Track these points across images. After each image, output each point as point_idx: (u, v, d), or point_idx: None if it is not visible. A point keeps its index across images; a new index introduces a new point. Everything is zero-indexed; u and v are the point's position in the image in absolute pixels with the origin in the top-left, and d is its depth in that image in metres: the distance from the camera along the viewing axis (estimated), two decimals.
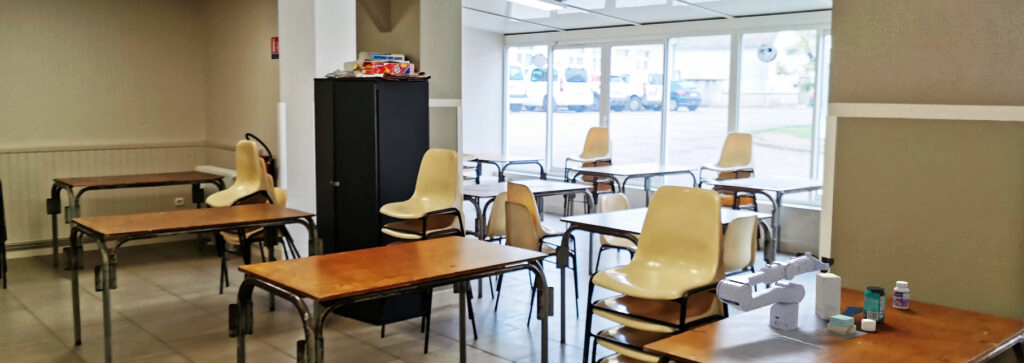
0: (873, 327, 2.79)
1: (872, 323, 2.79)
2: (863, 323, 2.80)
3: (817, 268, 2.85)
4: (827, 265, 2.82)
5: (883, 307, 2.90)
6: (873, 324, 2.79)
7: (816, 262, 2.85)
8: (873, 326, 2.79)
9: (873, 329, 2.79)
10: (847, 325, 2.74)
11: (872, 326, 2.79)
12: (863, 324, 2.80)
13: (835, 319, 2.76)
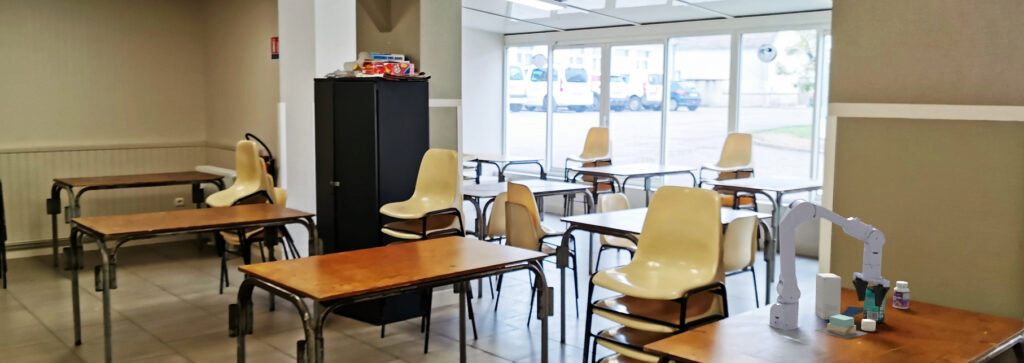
0: (873, 327, 2.79)
1: (872, 323, 2.79)
2: (863, 323, 2.80)
3: None
4: (888, 283, 2.73)
5: (883, 307, 2.90)
6: (873, 324, 2.79)
7: None
8: (873, 326, 2.79)
9: (873, 329, 2.79)
10: (847, 325, 2.74)
11: (872, 326, 2.79)
12: (863, 324, 2.80)
13: (835, 319, 2.76)
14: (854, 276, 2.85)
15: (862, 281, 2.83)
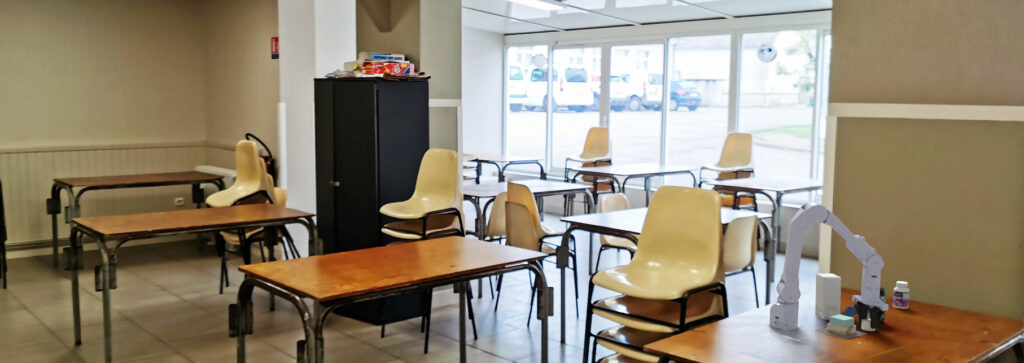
0: None
1: None
2: (863, 323, 2.80)
3: None
4: (887, 307, 2.74)
5: None
6: None
7: (879, 303, 2.77)
8: None
9: (873, 329, 2.79)
10: (847, 325, 2.74)
11: None
12: (863, 324, 2.80)
13: (835, 319, 2.76)
14: (853, 299, 2.86)
15: (864, 305, 2.83)
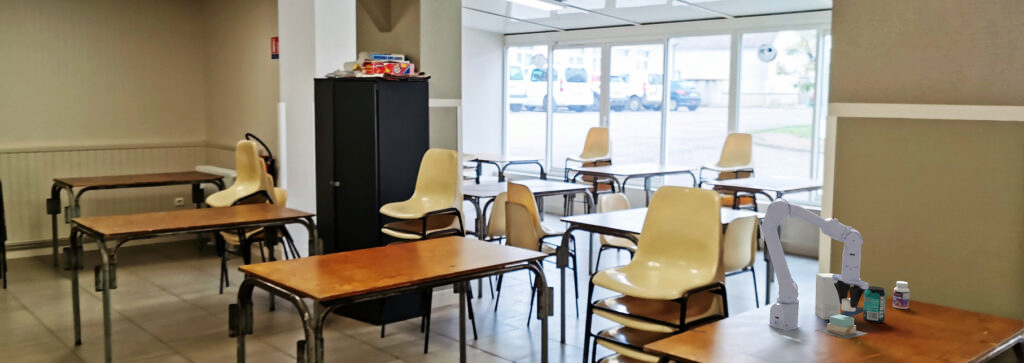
0: None
1: None
2: (843, 302, 2.76)
3: None
4: (867, 286, 2.70)
5: (883, 307, 2.90)
6: None
7: (859, 281, 2.74)
8: None
9: (853, 308, 2.75)
10: (847, 325, 2.74)
11: None
12: (843, 303, 2.76)
13: (835, 319, 2.76)
14: (833, 278, 2.82)
15: (844, 284, 2.79)
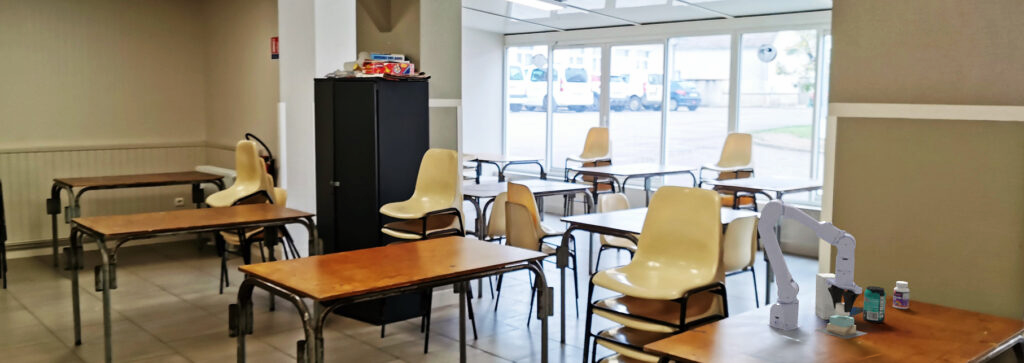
0: None
1: None
2: (837, 306, 2.76)
3: None
4: (860, 290, 2.69)
5: (883, 307, 2.90)
6: None
7: (853, 286, 2.73)
8: None
9: (847, 312, 2.75)
10: (847, 325, 2.74)
11: None
12: (837, 307, 2.76)
13: (835, 319, 2.76)
14: (827, 282, 2.82)
15: (838, 288, 2.78)
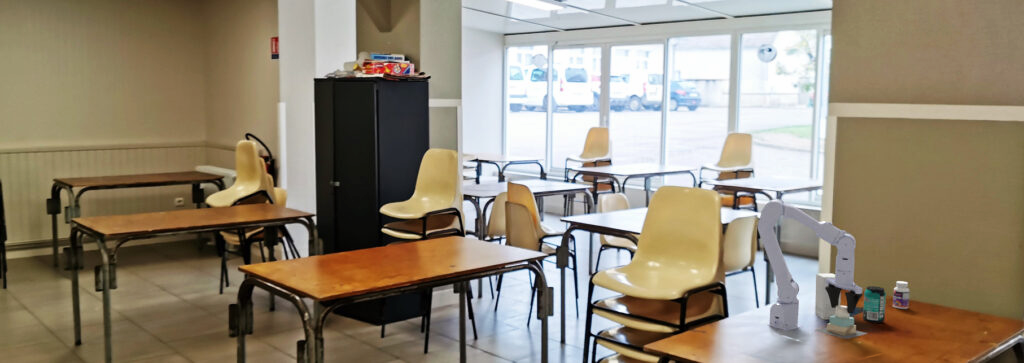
0: (847, 313, 2.75)
1: (846, 309, 2.74)
2: (837, 309, 2.76)
3: None
4: (860, 290, 2.69)
5: (883, 307, 2.90)
6: None
7: (853, 286, 2.73)
8: (847, 312, 2.75)
9: (847, 315, 2.75)
10: (847, 325, 2.74)
11: (846, 312, 2.74)
12: (837, 310, 2.76)
13: (835, 319, 2.76)
14: (827, 282, 2.82)
15: (835, 287, 2.79)
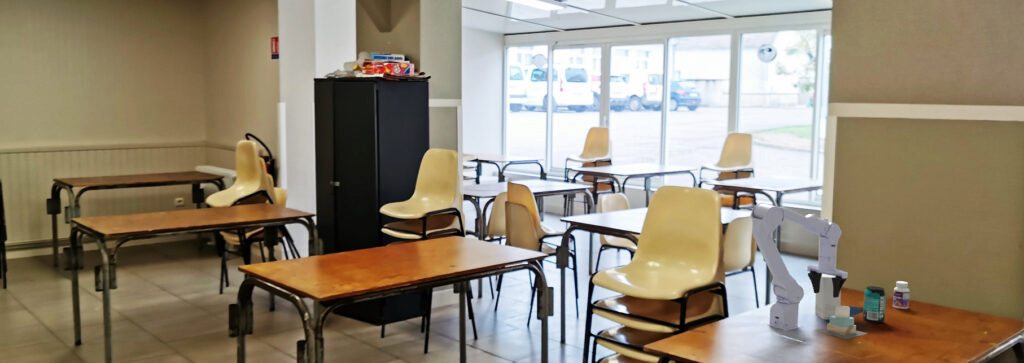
0: (847, 313, 2.75)
1: (846, 309, 2.74)
2: (837, 309, 2.76)
3: None
4: (846, 275, 2.81)
5: (883, 307, 2.90)
6: (847, 310, 2.74)
7: None
8: (847, 312, 2.75)
9: (847, 315, 2.75)
10: (847, 325, 2.74)
11: (846, 312, 2.74)
12: (837, 310, 2.76)
13: (835, 319, 2.76)
14: (808, 269, 2.91)
15: (817, 273, 2.90)
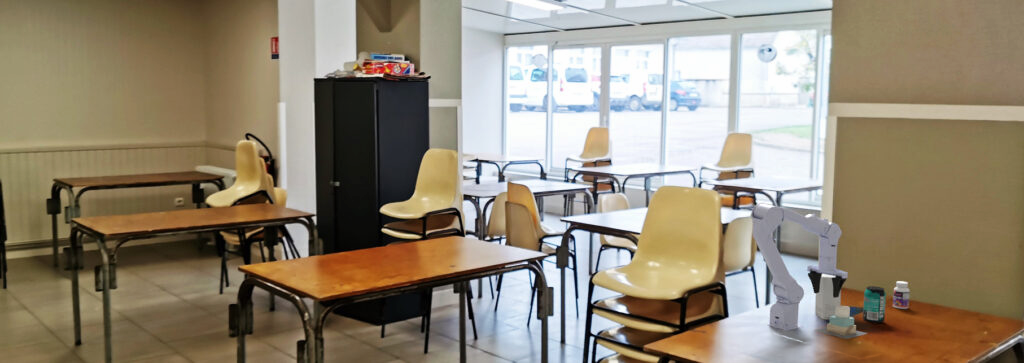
0: (847, 313, 2.75)
1: (846, 309, 2.74)
2: (837, 309, 2.76)
3: None
4: (846, 275, 2.81)
5: (883, 307, 2.90)
6: (847, 310, 2.74)
7: None
8: (847, 312, 2.75)
9: (847, 315, 2.75)
10: (847, 325, 2.74)
11: (846, 312, 2.74)
12: (837, 310, 2.76)
13: (835, 319, 2.76)
14: (808, 269, 2.91)
15: (817, 273, 2.90)
